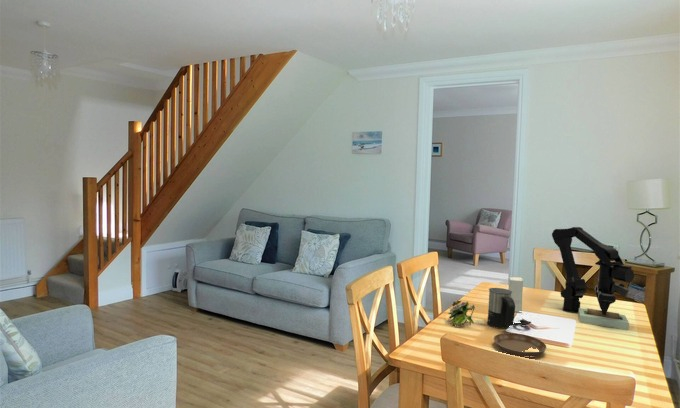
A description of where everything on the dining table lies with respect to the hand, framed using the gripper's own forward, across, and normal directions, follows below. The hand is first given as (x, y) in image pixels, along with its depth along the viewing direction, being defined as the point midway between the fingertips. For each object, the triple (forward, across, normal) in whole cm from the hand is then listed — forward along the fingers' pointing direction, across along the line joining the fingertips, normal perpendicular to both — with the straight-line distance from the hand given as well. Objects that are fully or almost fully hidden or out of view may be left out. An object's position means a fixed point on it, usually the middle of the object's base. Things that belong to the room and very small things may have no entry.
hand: (603, 311), depth 196 cm
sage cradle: (+4, 0, 0) cm, 4 cm away
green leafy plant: (+5, -36, +54) cm, 65 cm away
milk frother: (+5, -29, +37) cm, 47 cm away
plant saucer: (+5, -53, +31) cm, 62 cm away
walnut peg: (+4, 0, 0) cm, 4 cm away
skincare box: (+5, -3, +36) cm, 36 cm away
